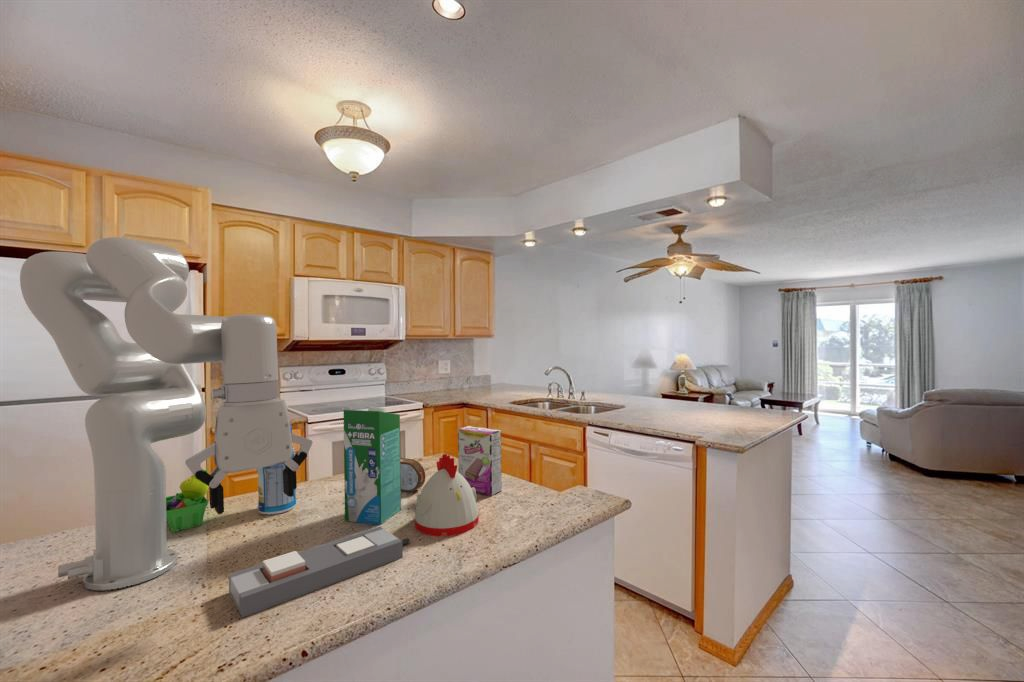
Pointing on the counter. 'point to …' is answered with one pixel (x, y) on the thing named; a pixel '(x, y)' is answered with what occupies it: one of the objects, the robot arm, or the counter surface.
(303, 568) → the outlet button
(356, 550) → the outlet button
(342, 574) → the power strip
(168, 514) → the fruit basket
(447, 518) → the kitchen timer
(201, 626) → the counter surface
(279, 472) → the beverage bottle
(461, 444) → the candy bar box
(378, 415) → the milk carton
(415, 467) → the tin
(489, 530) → the counter surface
